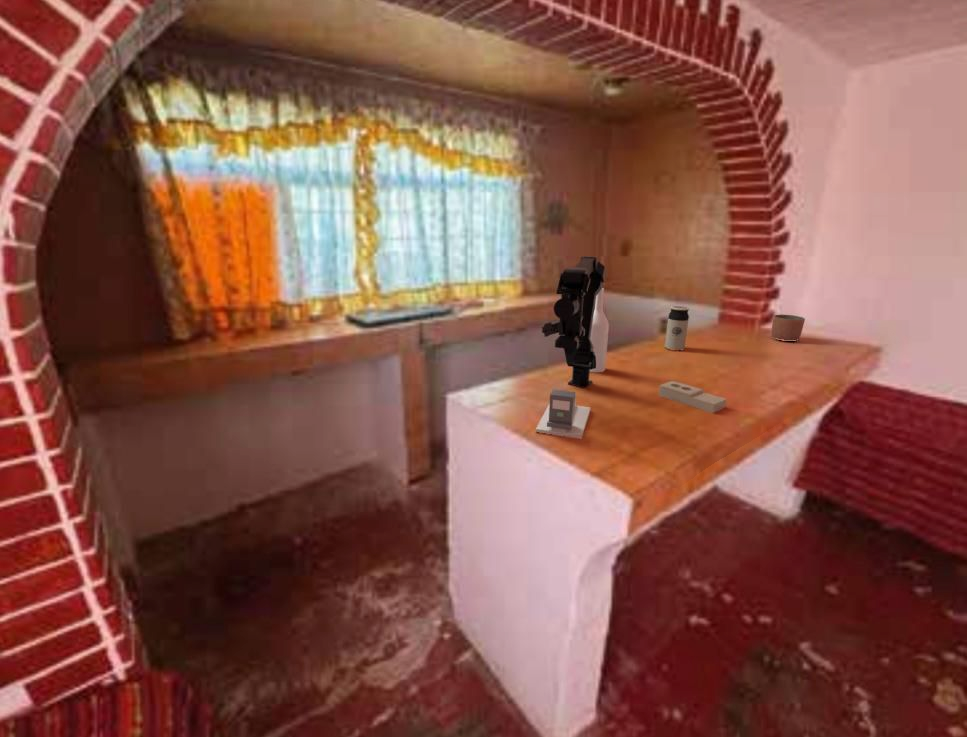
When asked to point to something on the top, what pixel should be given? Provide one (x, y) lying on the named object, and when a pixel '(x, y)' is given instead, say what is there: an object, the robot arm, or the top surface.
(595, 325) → the bottle
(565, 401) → the plate
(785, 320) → the planter
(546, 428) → the rail plate
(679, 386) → the grey stepped block
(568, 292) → the robot arm
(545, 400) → the top surface
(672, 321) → the travel mug
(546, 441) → the top surface
